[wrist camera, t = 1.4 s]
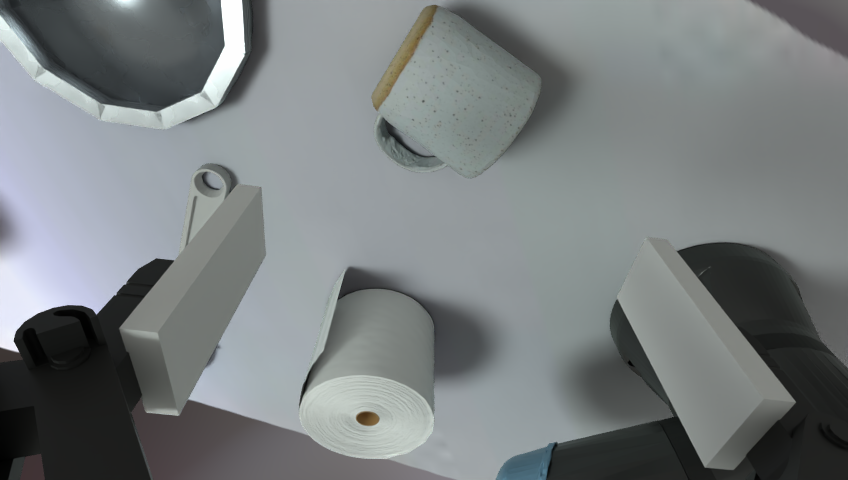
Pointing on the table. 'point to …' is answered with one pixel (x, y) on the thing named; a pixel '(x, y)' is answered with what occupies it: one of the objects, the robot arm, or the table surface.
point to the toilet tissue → (370, 375)
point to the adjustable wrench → (203, 201)
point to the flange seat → (132, 54)
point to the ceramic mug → (452, 96)
